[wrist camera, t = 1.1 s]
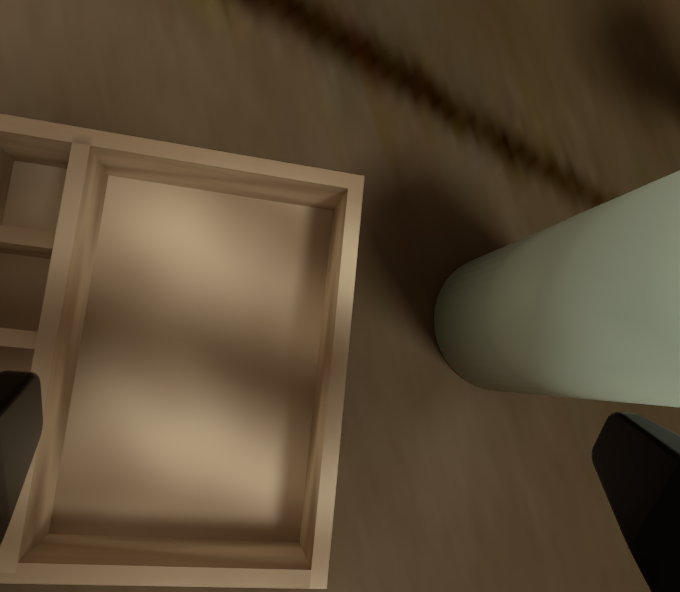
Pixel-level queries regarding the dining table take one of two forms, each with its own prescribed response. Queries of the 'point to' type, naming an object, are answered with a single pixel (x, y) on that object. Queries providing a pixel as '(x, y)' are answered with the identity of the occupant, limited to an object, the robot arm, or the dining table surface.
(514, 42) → the dining table surface
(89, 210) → the tray
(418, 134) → the dining table surface
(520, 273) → the pale green cylinder
